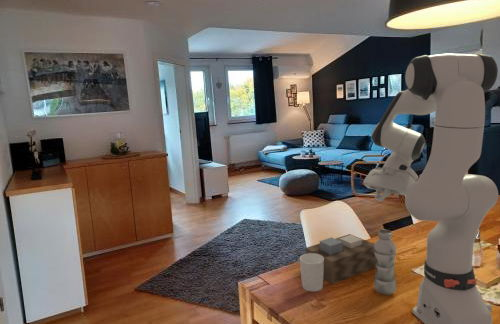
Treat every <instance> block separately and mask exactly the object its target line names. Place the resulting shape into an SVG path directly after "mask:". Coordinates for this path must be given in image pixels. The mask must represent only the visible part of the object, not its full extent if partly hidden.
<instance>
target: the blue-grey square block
mask: <svg viewBox="0 0 500 324" xmlns="http://www.w3.org/2000/svg"><path fill="white" fill-rule="evenodd" d="M319 244H320V250H321V251H323V252H325V253H327V254H329V255H334V254H337V253H340V252H343V242H341V241H339V240H337V239H336V238H334V237H328V238H326V239H325V238H324V239H321V240H319Z"/></svg>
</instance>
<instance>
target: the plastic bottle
mask: <svg viewBox="0 0 500 324" xmlns="http://www.w3.org/2000/svg"><path fill="white" fill-rule="evenodd" d="M377 235H378V239H377V240H376V241H375V243H373V244H374V254H375V262H376V267H375V273H374V278H373V288H374V290H375V291H376V292H377V293H379V294H381V295H383V296H384V295H385V296H386V295H387V296H388V295H389V296H390V295H393V294H394V293H395V292H396V290H397V281H396V274H395V263H396V262H395V261H396V255H397V246H396V245H395V242H394V241H393V240H392V238H393V236H392V235H393V234H392V230H389V229H379V230H378V234H377Z"/></svg>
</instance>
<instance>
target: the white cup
mask: <svg viewBox="0 0 500 324" xmlns="http://www.w3.org/2000/svg"><path fill="white" fill-rule="evenodd" d="M299 268H300V278H301V285H302V289H304V290H305V291H308V292H318V291H321V290H322V289H323V287H324V279H323V274H324V257H323V256H321V255H319V254H314V253H308V254H306V253H304V254H302V255H300V256H299Z"/></svg>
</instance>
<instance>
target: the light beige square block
mask: <svg viewBox="0 0 500 324" xmlns="http://www.w3.org/2000/svg"><path fill="white" fill-rule="evenodd" d="M352 235H353V234H351V235H349V236H346V237H343V238H340V241H341V242H343V245H344V246H346V247H348V248H350V249H351V248H354V247H357V246H360V245H362V239H363V238H361V239H360V237H358V236H356V237H355V235H353V236H352ZM357 237H358V238H357Z"/></svg>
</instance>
